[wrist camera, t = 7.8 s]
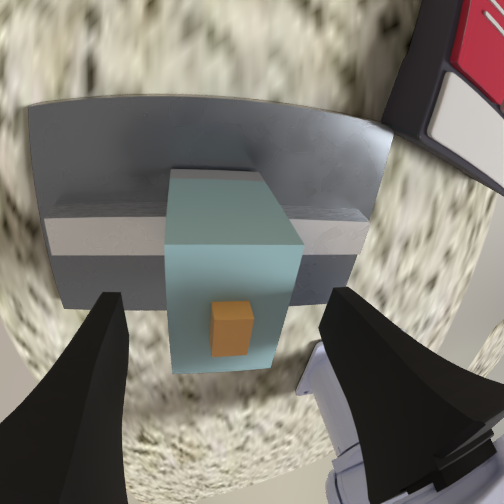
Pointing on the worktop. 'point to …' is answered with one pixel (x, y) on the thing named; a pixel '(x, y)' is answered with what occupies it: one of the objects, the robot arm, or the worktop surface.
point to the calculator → (455, 87)
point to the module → (226, 270)
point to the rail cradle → (202, 158)
